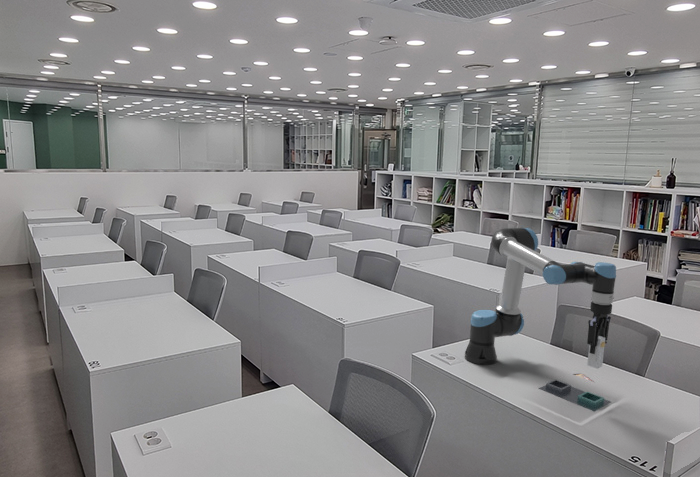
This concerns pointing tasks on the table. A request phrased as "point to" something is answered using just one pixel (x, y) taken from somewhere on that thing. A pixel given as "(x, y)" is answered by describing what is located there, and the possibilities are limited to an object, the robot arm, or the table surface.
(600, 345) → the plug
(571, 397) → the panel
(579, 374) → the smartphone
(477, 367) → the table surface
